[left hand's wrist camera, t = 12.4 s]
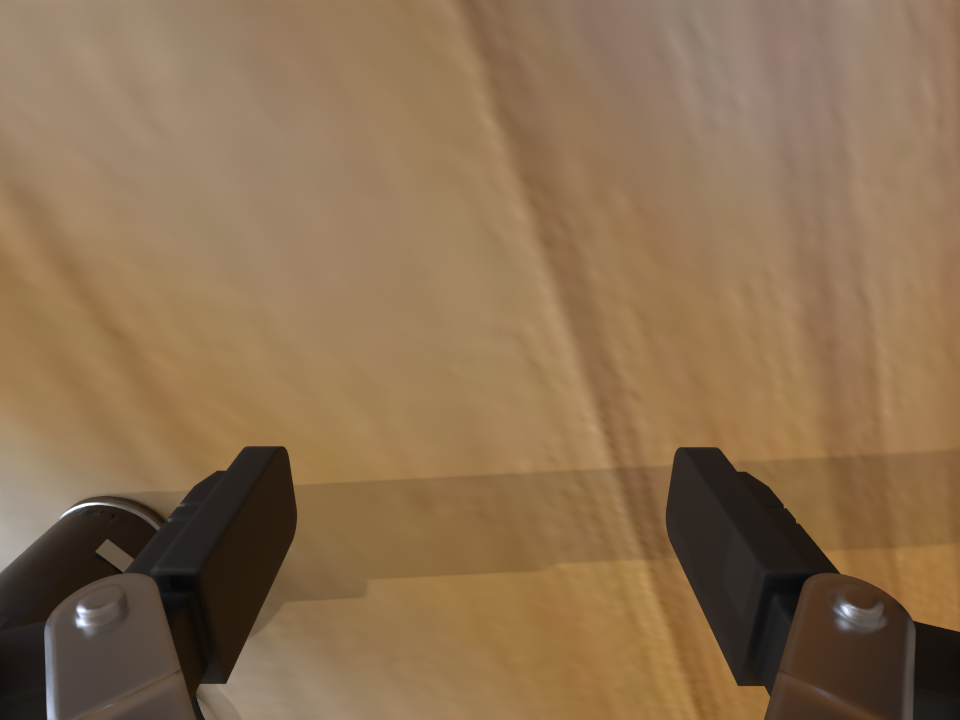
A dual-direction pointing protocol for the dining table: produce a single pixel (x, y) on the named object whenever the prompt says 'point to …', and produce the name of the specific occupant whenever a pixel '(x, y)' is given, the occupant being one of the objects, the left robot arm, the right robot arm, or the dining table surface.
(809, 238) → the dining table surface
